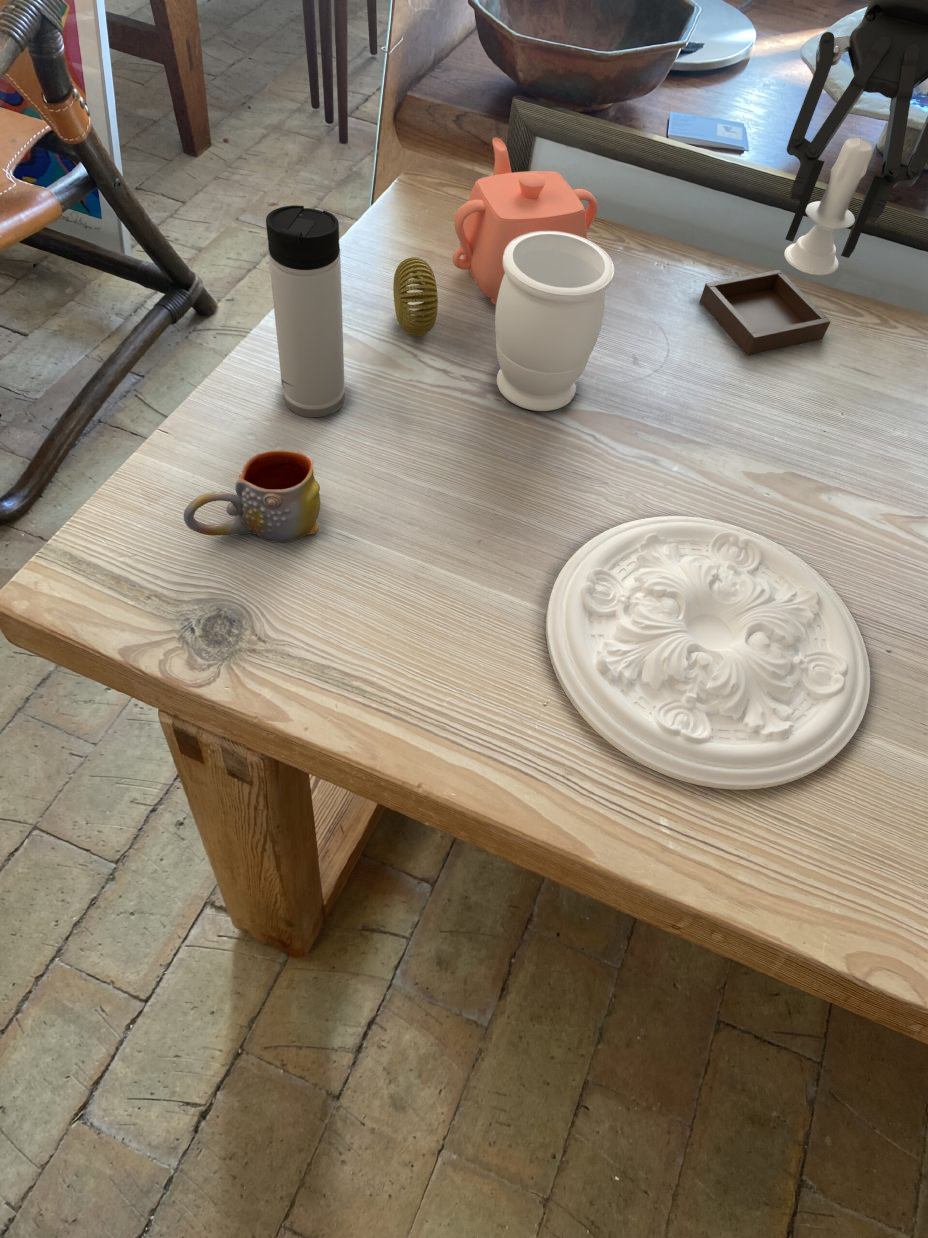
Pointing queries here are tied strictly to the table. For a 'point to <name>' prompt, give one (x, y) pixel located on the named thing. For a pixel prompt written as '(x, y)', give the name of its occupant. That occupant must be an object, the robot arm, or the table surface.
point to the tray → (764, 312)
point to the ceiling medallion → (707, 652)
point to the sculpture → (415, 296)
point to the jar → (548, 316)
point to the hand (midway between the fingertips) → (819, 243)
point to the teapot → (514, 216)
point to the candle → (831, 211)
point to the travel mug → (307, 307)
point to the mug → (267, 499)
